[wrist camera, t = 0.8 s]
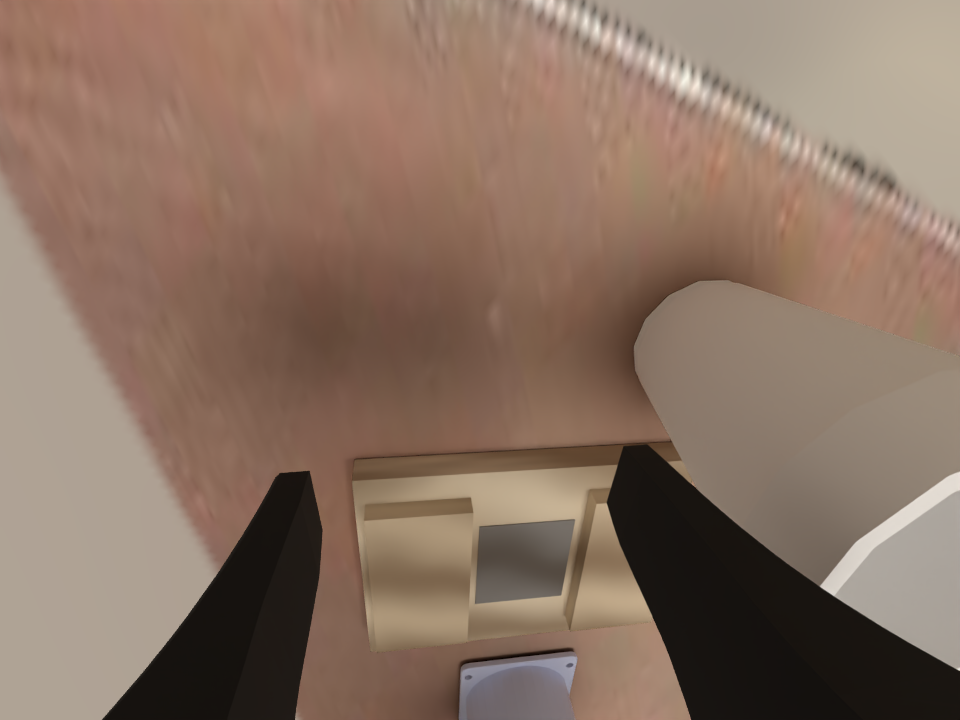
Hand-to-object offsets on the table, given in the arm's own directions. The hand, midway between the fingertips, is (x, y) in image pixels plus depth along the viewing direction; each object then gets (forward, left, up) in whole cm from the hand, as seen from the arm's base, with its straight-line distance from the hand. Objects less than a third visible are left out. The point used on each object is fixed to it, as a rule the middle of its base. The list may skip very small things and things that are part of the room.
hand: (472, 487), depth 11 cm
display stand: (-14, -4, -10) cm, 18 cm away
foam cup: (-2, -12, -11) cm, 16 cm away
